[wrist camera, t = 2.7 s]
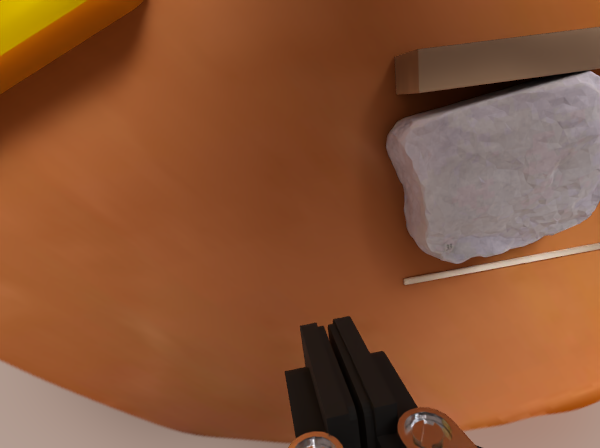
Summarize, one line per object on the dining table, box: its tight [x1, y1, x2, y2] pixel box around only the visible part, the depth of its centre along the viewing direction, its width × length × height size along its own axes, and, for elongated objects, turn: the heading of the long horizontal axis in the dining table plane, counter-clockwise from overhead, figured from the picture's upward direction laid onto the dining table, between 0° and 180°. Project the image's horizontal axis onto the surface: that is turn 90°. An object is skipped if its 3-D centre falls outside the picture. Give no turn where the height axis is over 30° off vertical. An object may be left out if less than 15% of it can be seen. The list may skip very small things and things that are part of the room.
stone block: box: [386, 70, 600, 264], centre depth 23 cm, size 12×5×10 cm
